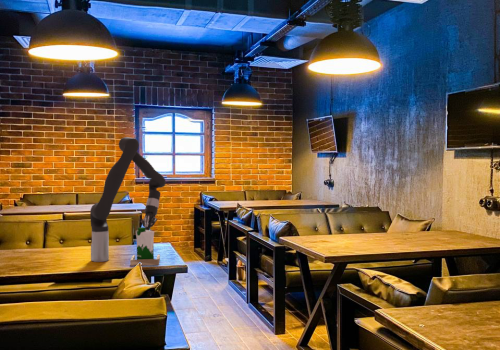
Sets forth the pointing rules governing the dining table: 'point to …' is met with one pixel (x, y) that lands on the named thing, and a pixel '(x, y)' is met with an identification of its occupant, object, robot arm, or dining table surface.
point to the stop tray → (145, 261)
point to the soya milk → (145, 244)
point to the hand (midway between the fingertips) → (146, 233)
